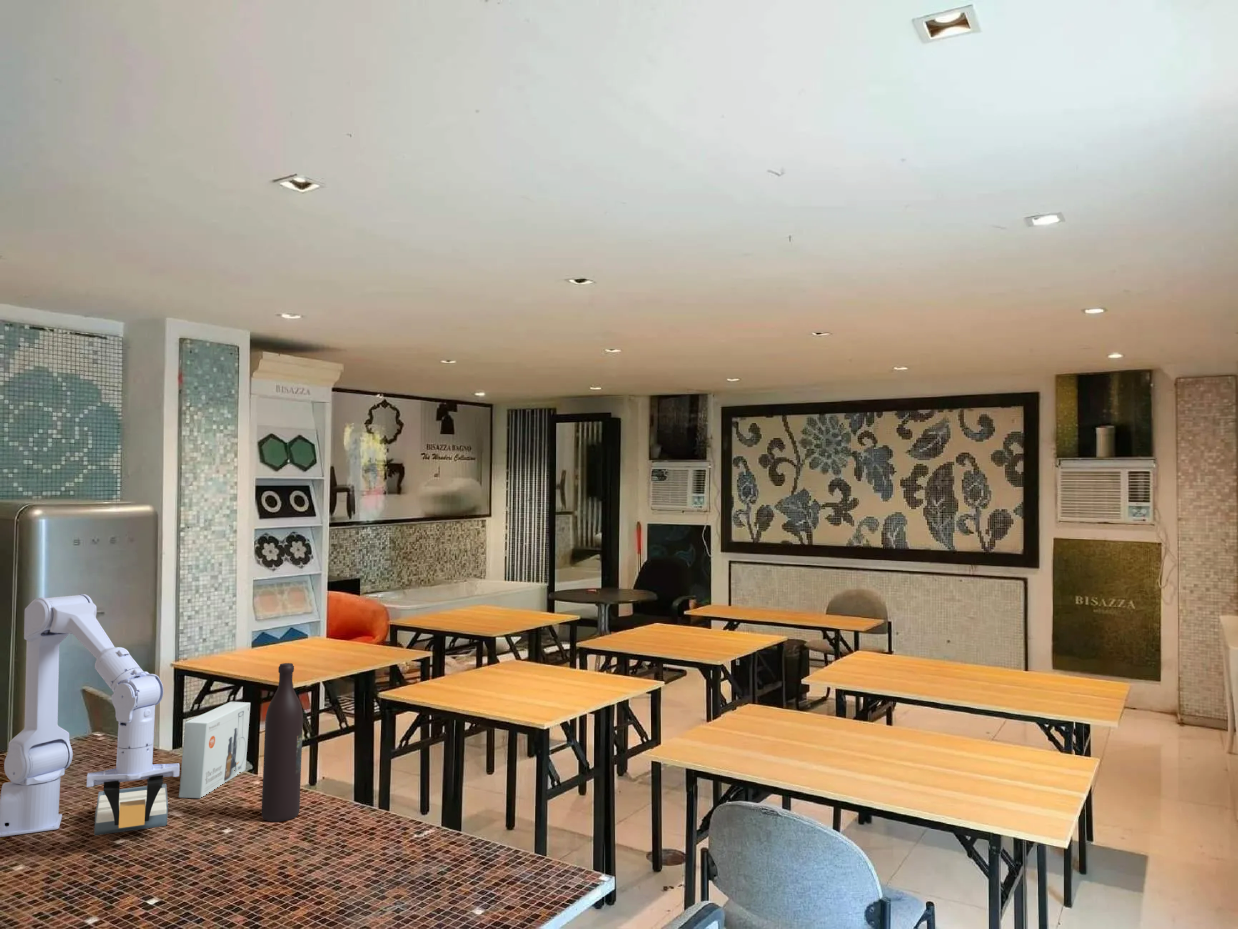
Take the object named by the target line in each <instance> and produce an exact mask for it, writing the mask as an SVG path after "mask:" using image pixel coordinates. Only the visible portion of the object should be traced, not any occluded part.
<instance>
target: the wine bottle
mask: <svg viewBox="0 0 1238 929" xmlns="http://www.w3.org/2000/svg"><path fill="white" fill-rule="evenodd" d="M294 671H295V666H294V663H291V662H285V663H284V662H283V663H280V664H279V666H278V673H279V674H278V675H279V677H278V678H279V679H278V685H277V690H276V691H275V694H274V695H273V698H272V699H271V701H270V702H269V705H268V707H267V710H266V714H265V721H264V740H263V741H264V744H263V745H264V746H263V766H262V767H263V770H262V790H261V791H262V793H261V796H262V797H261V818H262V819H263V820H265V821H268V822H275V823H276V822H285V821H288V820H291V819H295V818H296V817H298V815H299V814H300V805H301V804H300V802H301V784H302V782H301V779H302V752H303V730H304V728H303V727H304V726H303V725H304V717H303V716H304V715H303V708H302V704H301V702H300V699H299V697H298V695H297V694H296V691H295V689H294V685H293V684H294V683H293V676H294V675H293V673H294Z"/></svg>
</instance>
